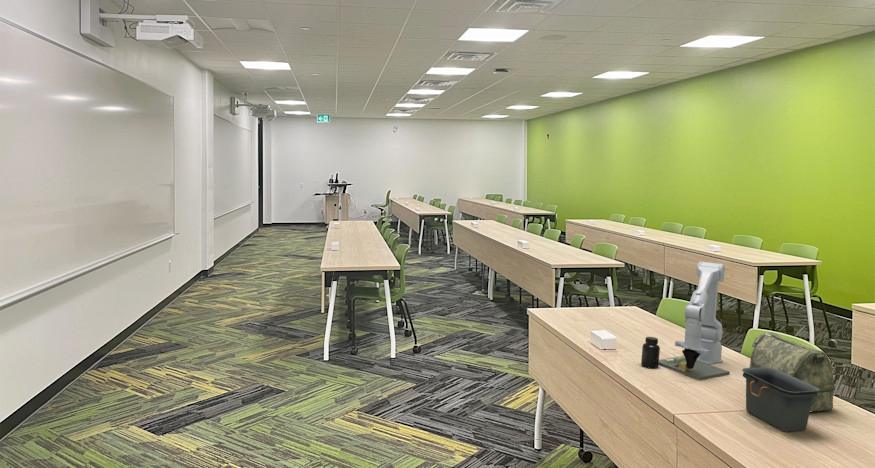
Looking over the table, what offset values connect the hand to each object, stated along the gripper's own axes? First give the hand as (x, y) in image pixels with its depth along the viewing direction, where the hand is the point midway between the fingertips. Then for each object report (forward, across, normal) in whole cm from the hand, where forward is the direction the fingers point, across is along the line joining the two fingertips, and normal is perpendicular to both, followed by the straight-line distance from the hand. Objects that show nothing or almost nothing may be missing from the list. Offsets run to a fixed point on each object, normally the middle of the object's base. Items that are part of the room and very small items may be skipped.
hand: (690, 368), depth 226 cm
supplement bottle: (+3, -14, -6) cm, 16 cm away
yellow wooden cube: (+2, -2, 0) cm, 3 cm away
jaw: (0, -9, +7) cm, 11 cm away
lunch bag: (+3, +32, +11) cm, 34 cm away
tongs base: (+3, -5, +7) cm, 10 cm away
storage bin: (+3, +42, -13) cm, 44 cm away
